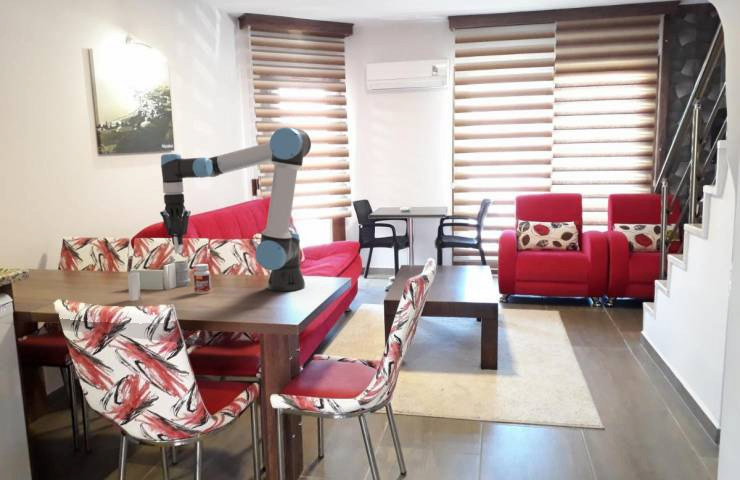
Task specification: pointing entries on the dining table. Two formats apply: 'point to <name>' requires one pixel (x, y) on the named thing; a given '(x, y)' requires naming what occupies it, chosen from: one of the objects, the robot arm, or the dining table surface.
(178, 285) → the mug
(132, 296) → the frame
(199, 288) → the pill bottle
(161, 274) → the grey green panel
